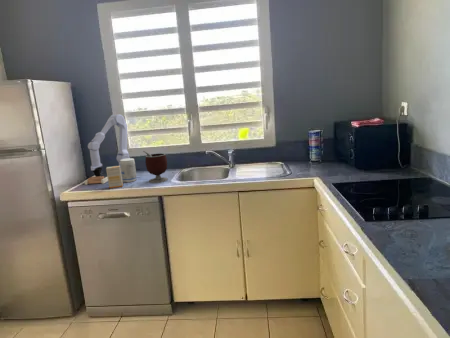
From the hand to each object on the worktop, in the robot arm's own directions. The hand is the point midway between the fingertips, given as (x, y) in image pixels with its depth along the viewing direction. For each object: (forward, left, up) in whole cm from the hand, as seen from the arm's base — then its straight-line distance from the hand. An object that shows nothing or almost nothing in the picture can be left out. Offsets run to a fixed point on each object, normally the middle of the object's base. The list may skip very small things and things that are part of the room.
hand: (98, 178), depth 245 cm
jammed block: (0, +4, -2) cm, 4 cm away
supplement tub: (-23, +4, -2) cm, 23 cm away
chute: (0, 0, -2) cm, 2 cm away
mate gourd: (-43, +8, -2) cm, 44 cm away
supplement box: (-19, +19, -2) cm, 27 cm away
